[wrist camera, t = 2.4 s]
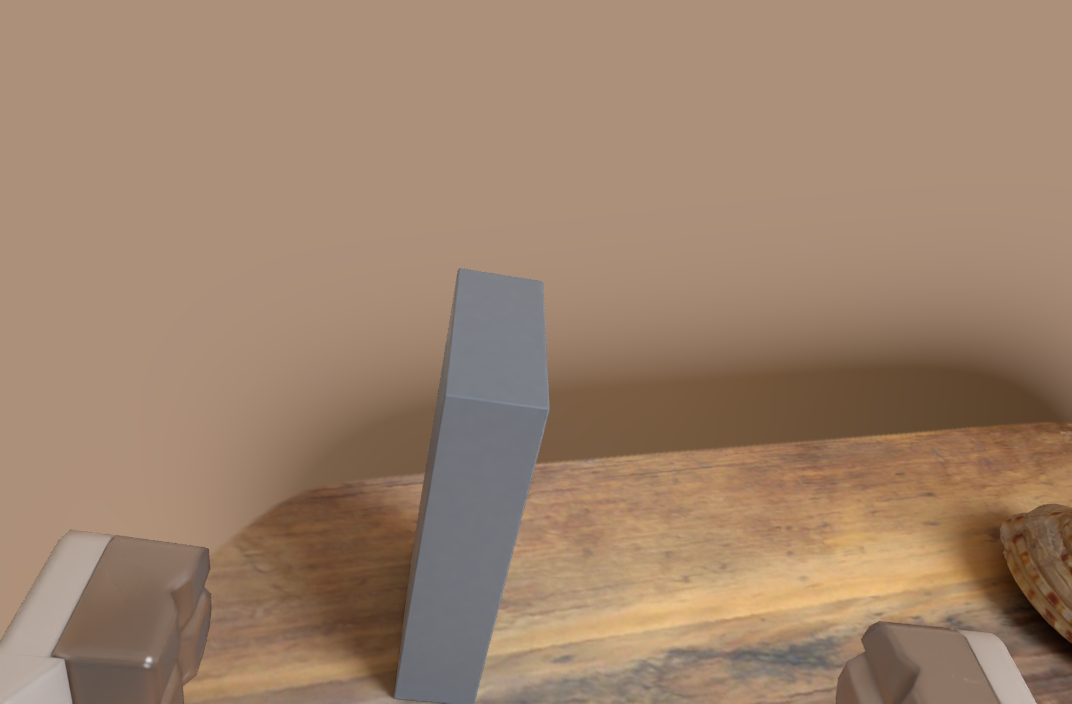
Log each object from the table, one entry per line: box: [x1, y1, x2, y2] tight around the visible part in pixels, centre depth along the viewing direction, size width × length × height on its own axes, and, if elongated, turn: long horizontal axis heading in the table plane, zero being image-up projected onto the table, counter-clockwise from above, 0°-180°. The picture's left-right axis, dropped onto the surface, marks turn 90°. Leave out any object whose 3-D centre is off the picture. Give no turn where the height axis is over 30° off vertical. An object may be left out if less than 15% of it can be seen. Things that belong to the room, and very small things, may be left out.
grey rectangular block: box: [394, 268, 549, 704], centre depth 26 cm, size 2×6×12 cm, turn 1°
